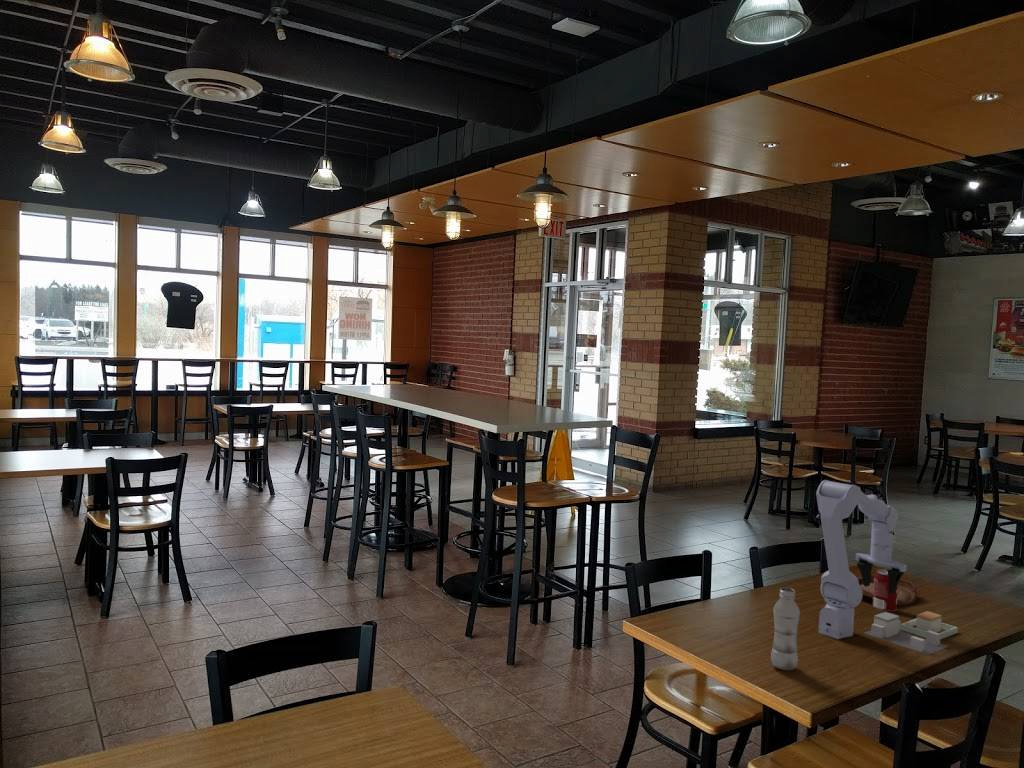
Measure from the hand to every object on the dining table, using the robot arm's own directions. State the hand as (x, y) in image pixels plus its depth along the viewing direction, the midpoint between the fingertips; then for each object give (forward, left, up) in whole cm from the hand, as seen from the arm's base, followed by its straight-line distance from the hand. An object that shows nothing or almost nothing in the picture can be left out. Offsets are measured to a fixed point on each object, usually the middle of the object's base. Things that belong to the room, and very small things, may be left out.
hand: (879, 589), depth 226 cm
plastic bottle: (-54, -6, -10) cm, 55 cm away
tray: (+4, -13, -10) cm, 17 cm away
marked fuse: (+4, -13, -9) cm, 16 cm away
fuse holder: (-9, -13, -10) cm, 19 cm away
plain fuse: (-9, -8, -9) cm, 15 cm away
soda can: (+13, +5, -10) cm, 17 cm away
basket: (+25, +13, -10) cm, 30 cm away
